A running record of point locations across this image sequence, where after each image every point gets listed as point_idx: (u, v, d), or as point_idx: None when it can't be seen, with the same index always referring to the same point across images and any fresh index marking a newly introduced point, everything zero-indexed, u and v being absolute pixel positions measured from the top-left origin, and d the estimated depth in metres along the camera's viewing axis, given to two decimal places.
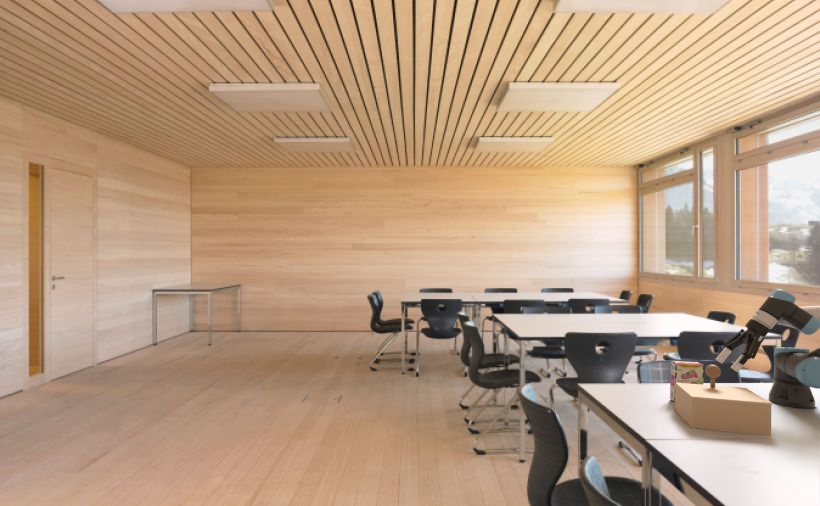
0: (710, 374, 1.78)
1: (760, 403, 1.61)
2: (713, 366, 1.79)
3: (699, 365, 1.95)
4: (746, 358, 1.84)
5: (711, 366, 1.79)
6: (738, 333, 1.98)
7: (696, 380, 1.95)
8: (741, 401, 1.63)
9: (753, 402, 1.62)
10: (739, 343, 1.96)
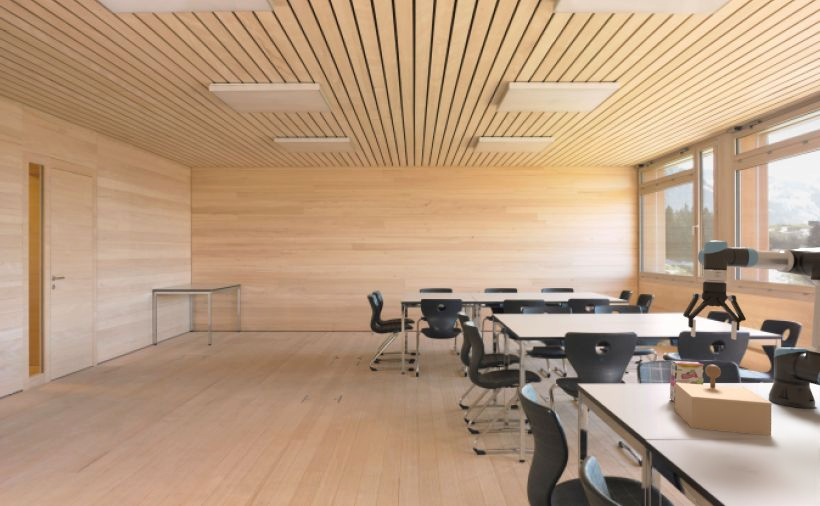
0: (710, 374, 1.78)
1: (760, 403, 1.61)
2: (713, 366, 1.79)
3: (699, 365, 1.95)
4: None
5: (711, 366, 1.79)
6: (696, 300, 1.81)
7: (696, 380, 1.94)
8: (741, 401, 1.63)
9: (753, 402, 1.62)
10: None
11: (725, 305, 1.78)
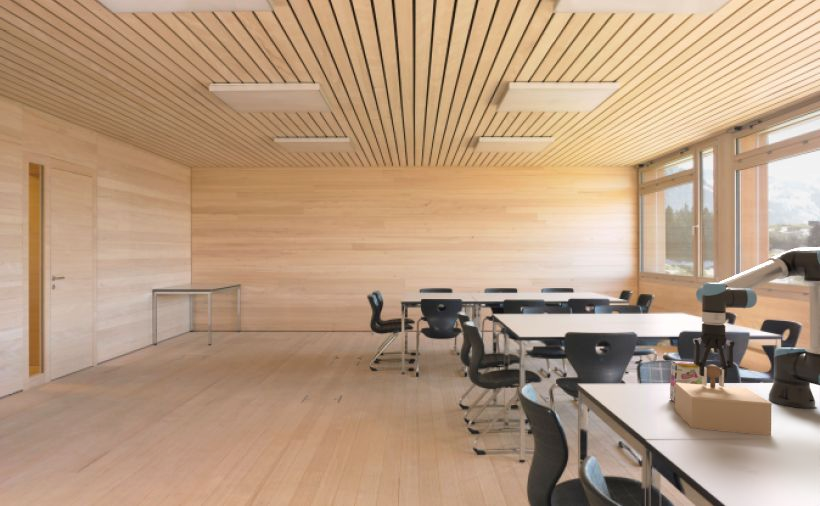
0: (710, 374, 1.78)
1: (760, 403, 1.61)
2: (713, 366, 1.79)
3: None
4: None
5: (711, 366, 1.79)
6: (698, 345, 1.80)
7: (696, 380, 1.95)
8: (741, 401, 1.63)
9: (753, 402, 1.62)
10: None
11: (721, 349, 1.78)
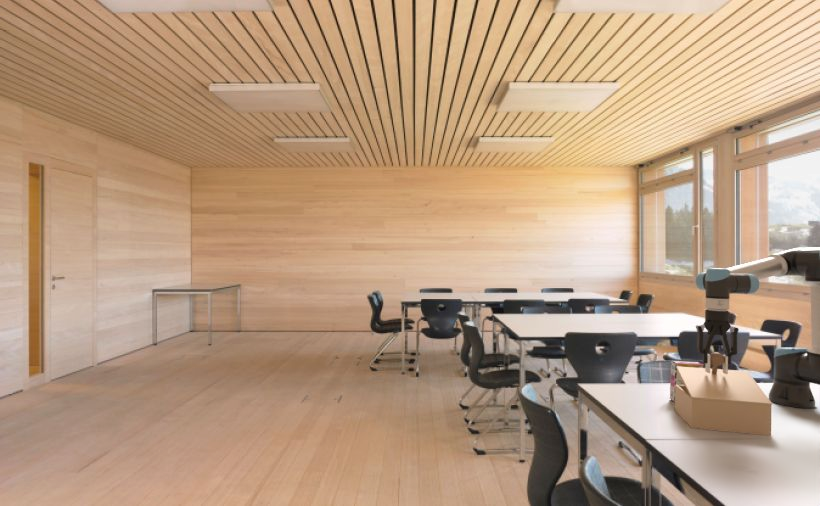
0: (713, 363, 1.76)
1: (760, 403, 1.61)
2: (717, 355, 1.75)
3: (699, 365, 1.95)
4: None
5: (715, 355, 1.75)
6: (701, 332, 1.77)
7: None
8: (741, 401, 1.62)
9: (753, 402, 1.61)
10: None
11: (724, 336, 1.74)
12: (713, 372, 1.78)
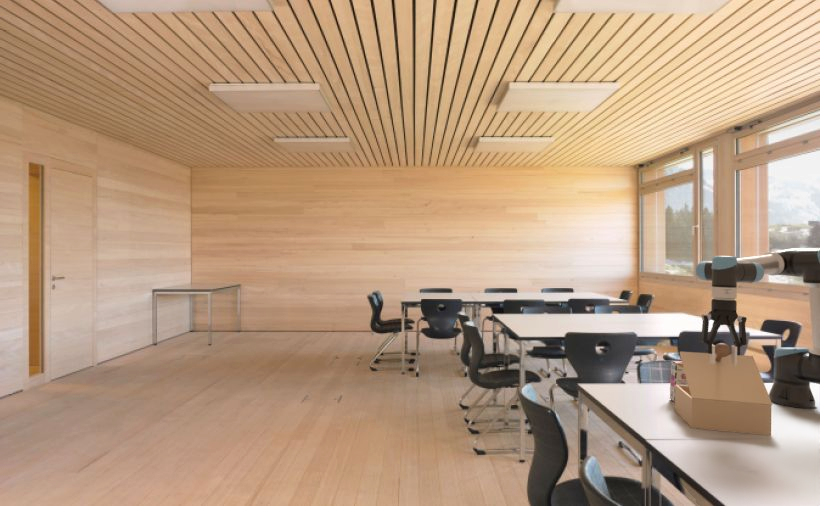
0: (718, 355, 1.71)
1: (760, 404, 1.61)
2: (723, 349, 1.69)
3: None
4: None
5: (721, 348, 1.70)
6: (707, 321, 1.71)
7: None
8: (741, 402, 1.62)
9: (754, 403, 1.61)
10: None
11: (732, 325, 1.68)
12: (717, 360, 1.74)
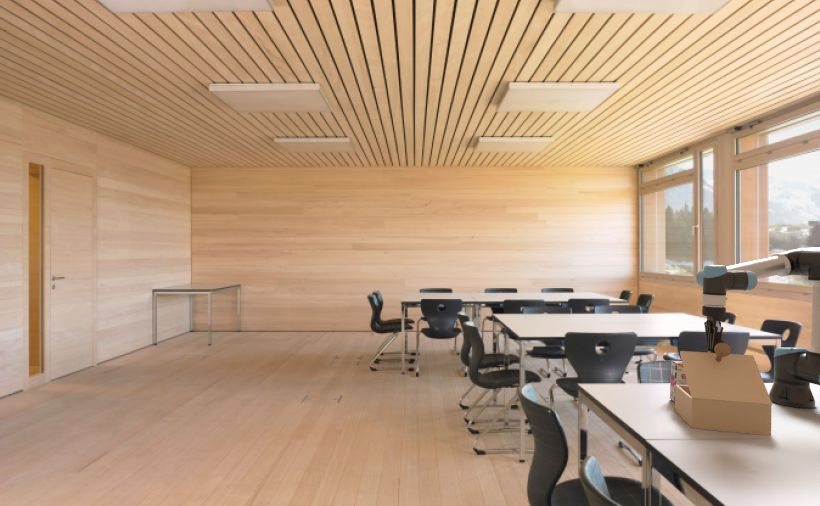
0: (718, 355, 1.71)
1: (760, 404, 1.61)
2: (724, 349, 1.69)
3: None
4: None
5: (722, 348, 1.69)
6: None
7: None
8: (741, 402, 1.62)
9: (754, 403, 1.61)
10: None
11: None
12: (717, 360, 1.74)
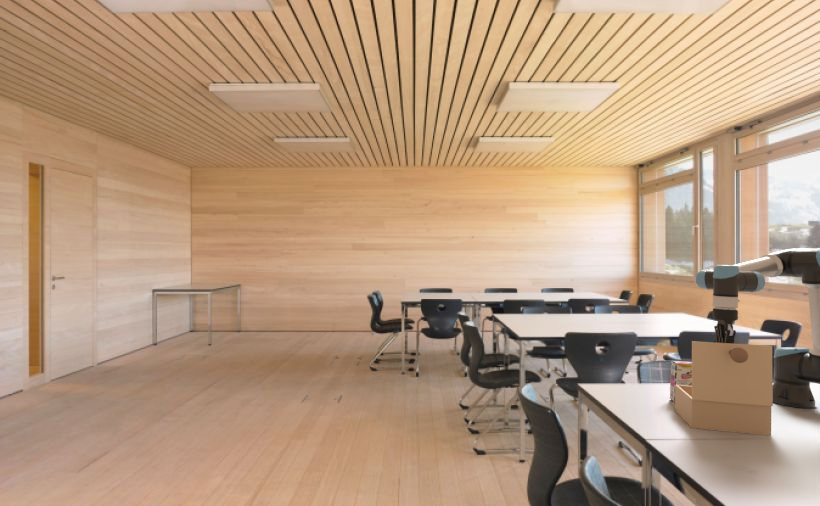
0: None
1: None
2: (740, 360, 1.56)
3: None
4: None
5: (738, 359, 1.56)
6: None
7: None
8: None
9: None
10: None
11: None
12: None
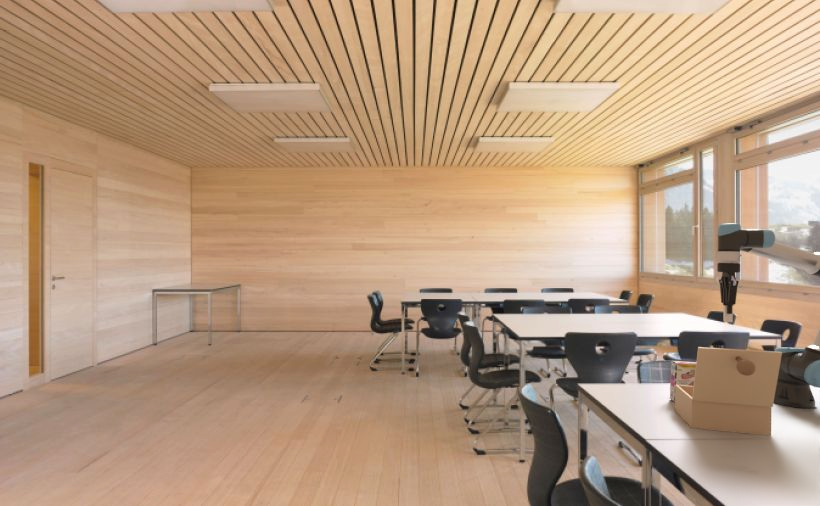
0: None
1: None
2: (747, 374, 1.51)
3: None
4: None
5: (744, 373, 1.51)
6: (736, 285, 1.85)
7: None
8: None
9: None
10: None
11: None
12: (737, 360, 1.58)
